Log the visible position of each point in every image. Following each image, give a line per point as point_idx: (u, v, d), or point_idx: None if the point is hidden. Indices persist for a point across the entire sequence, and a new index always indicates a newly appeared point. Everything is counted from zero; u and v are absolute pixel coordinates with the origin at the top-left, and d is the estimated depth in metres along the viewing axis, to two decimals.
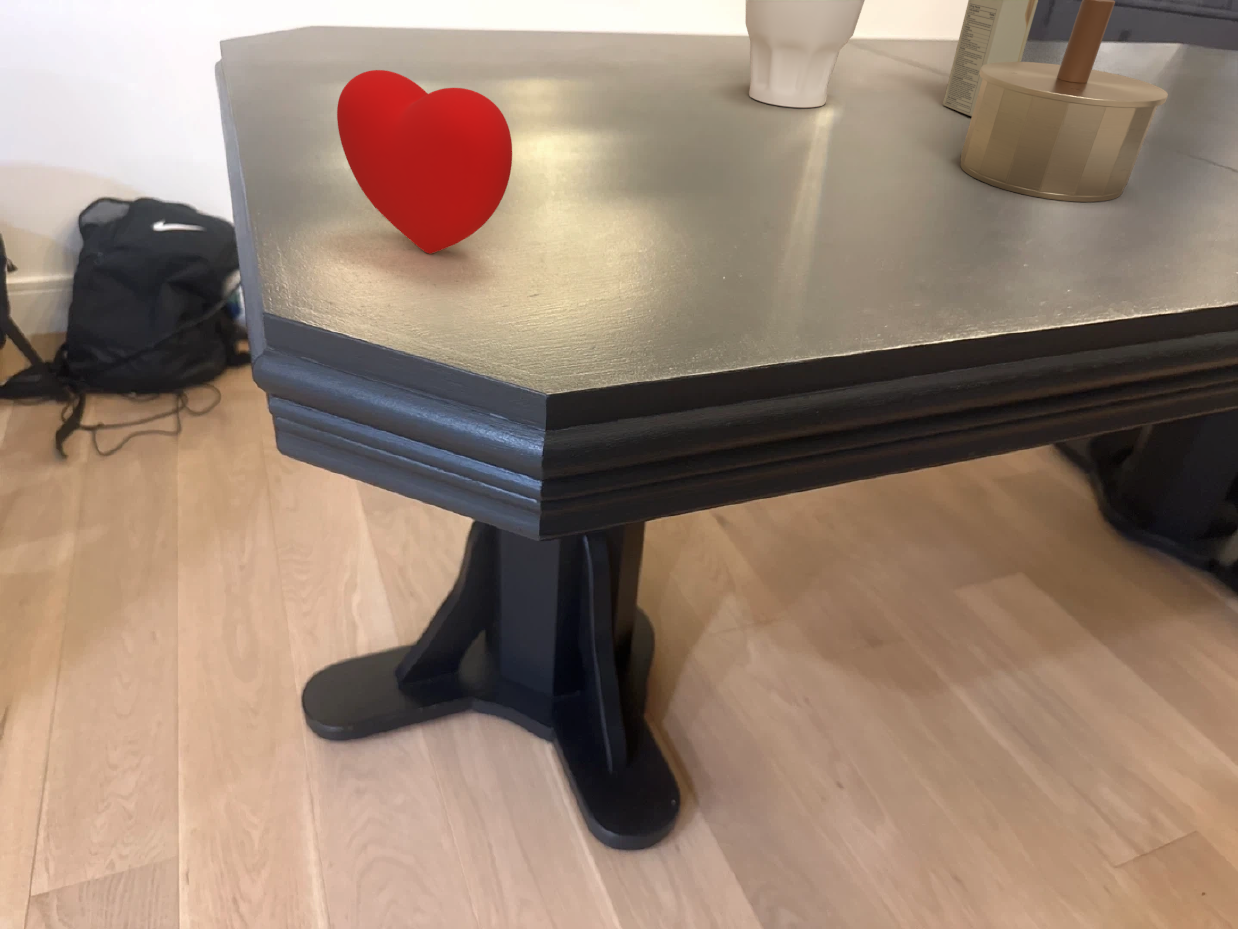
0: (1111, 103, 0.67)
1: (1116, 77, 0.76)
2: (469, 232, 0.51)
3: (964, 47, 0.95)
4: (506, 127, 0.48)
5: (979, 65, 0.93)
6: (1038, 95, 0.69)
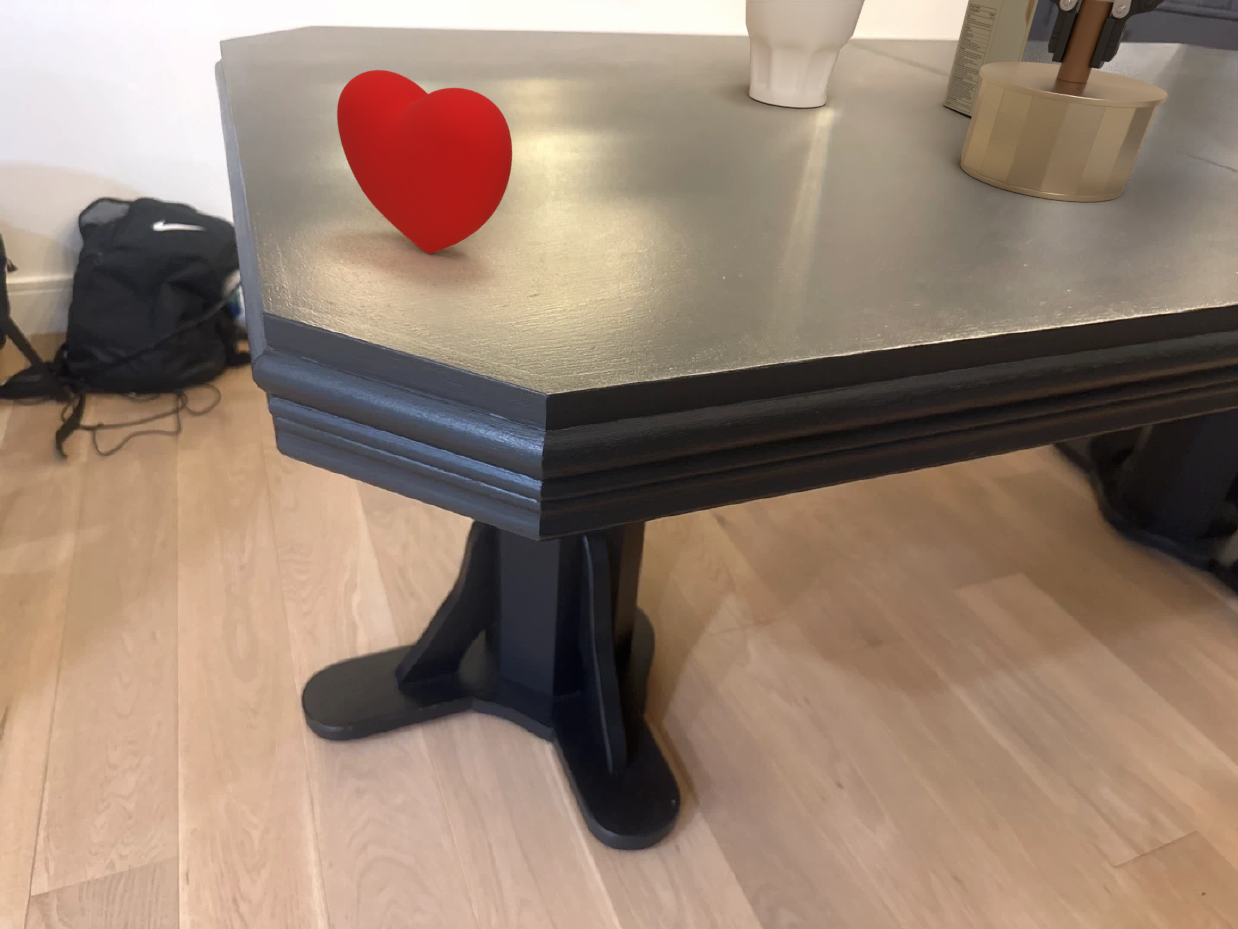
0: (1111, 103, 0.67)
1: (1116, 77, 0.76)
2: (469, 232, 0.51)
3: (964, 47, 0.95)
4: (506, 127, 0.48)
5: (979, 65, 0.93)
6: (1038, 95, 0.69)
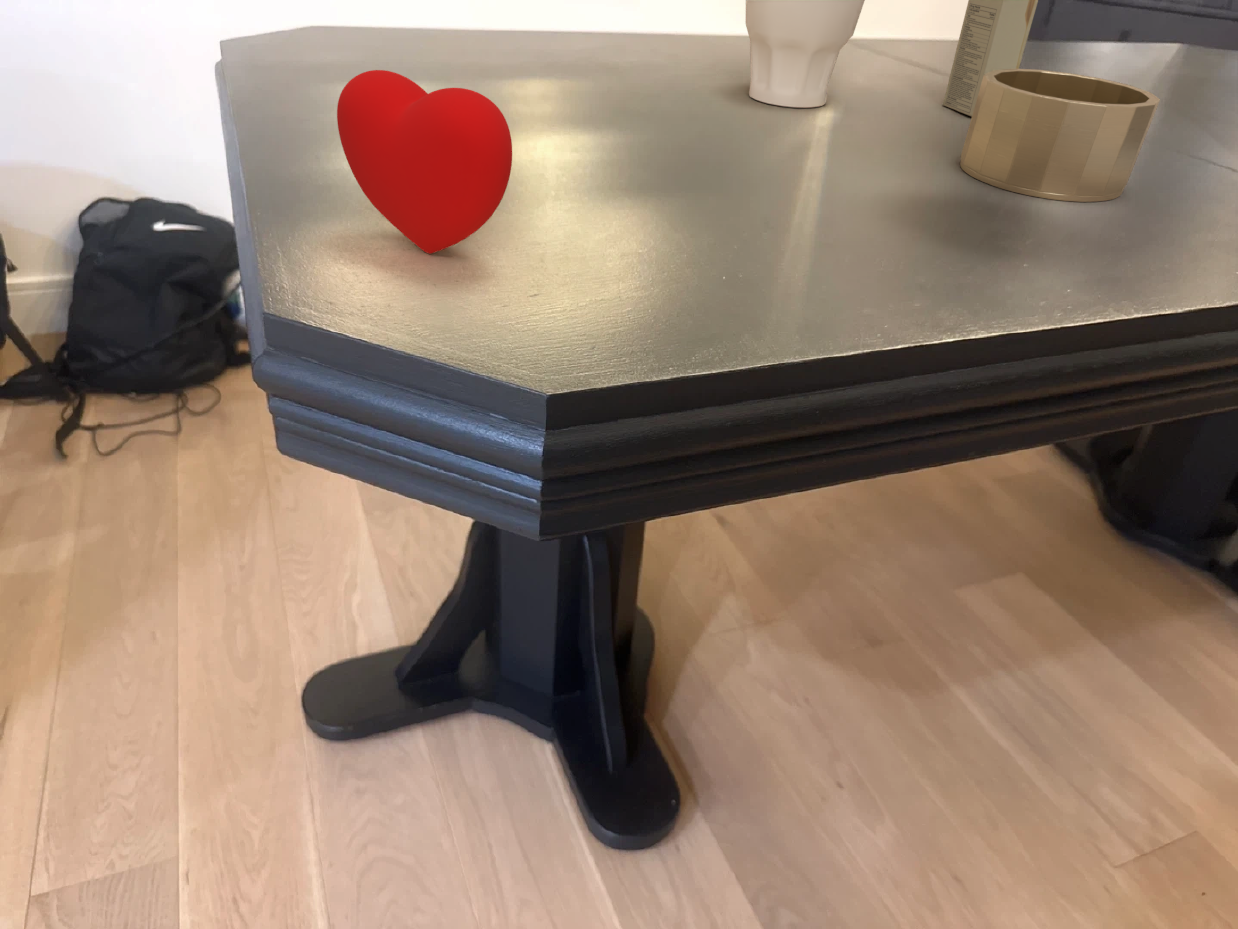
0: None
1: None
2: (469, 232, 0.51)
3: (964, 47, 0.95)
4: (506, 127, 0.48)
5: (979, 65, 0.93)
6: None
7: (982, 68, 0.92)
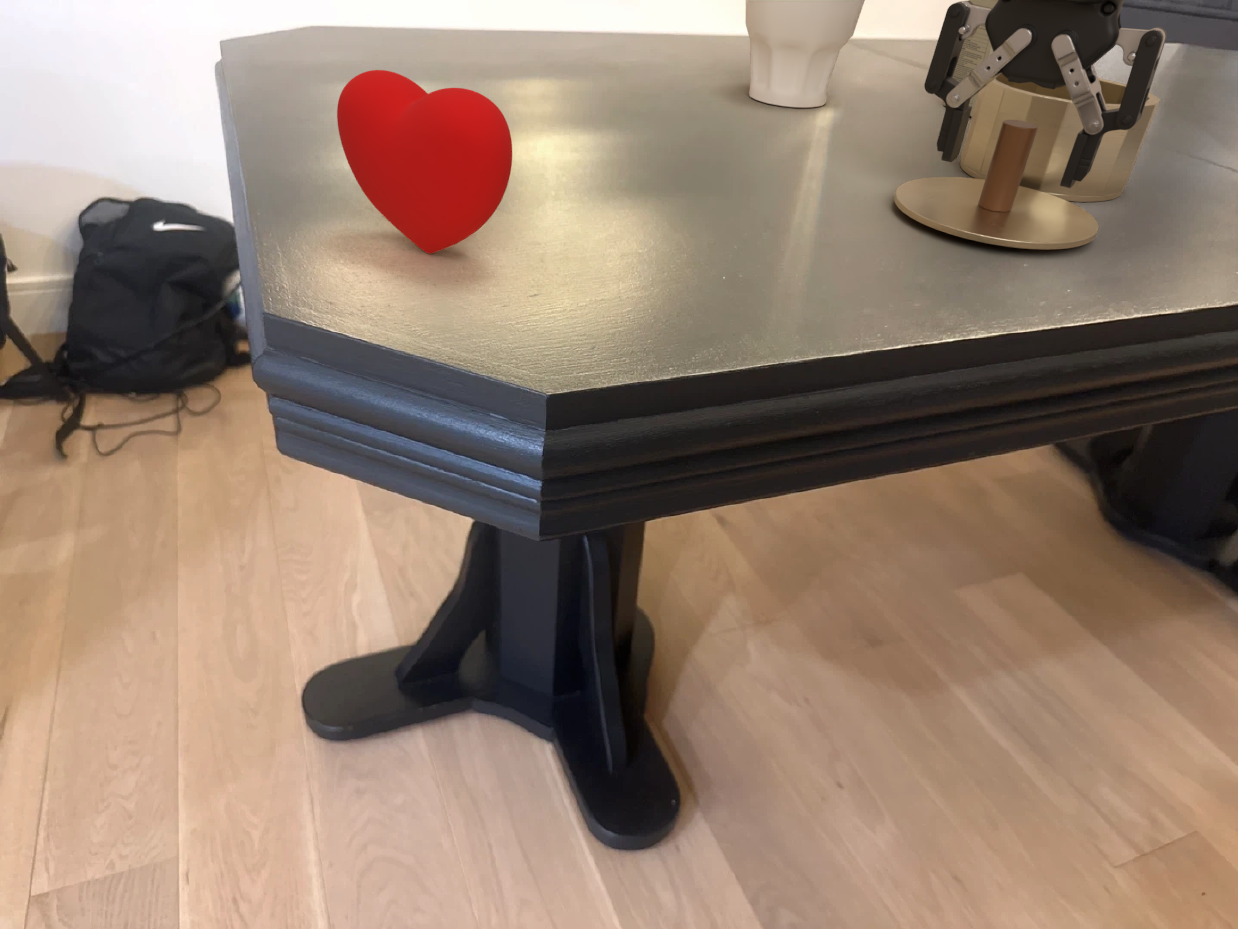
0: (1031, 245, 0.60)
1: (1046, 199, 0.68)
2: (469, 232, 0.51)
3: (964, 47, 0.95)
4: (506, 127, 0.48)
5: None
6: (951, 233, 0.62)
7: None
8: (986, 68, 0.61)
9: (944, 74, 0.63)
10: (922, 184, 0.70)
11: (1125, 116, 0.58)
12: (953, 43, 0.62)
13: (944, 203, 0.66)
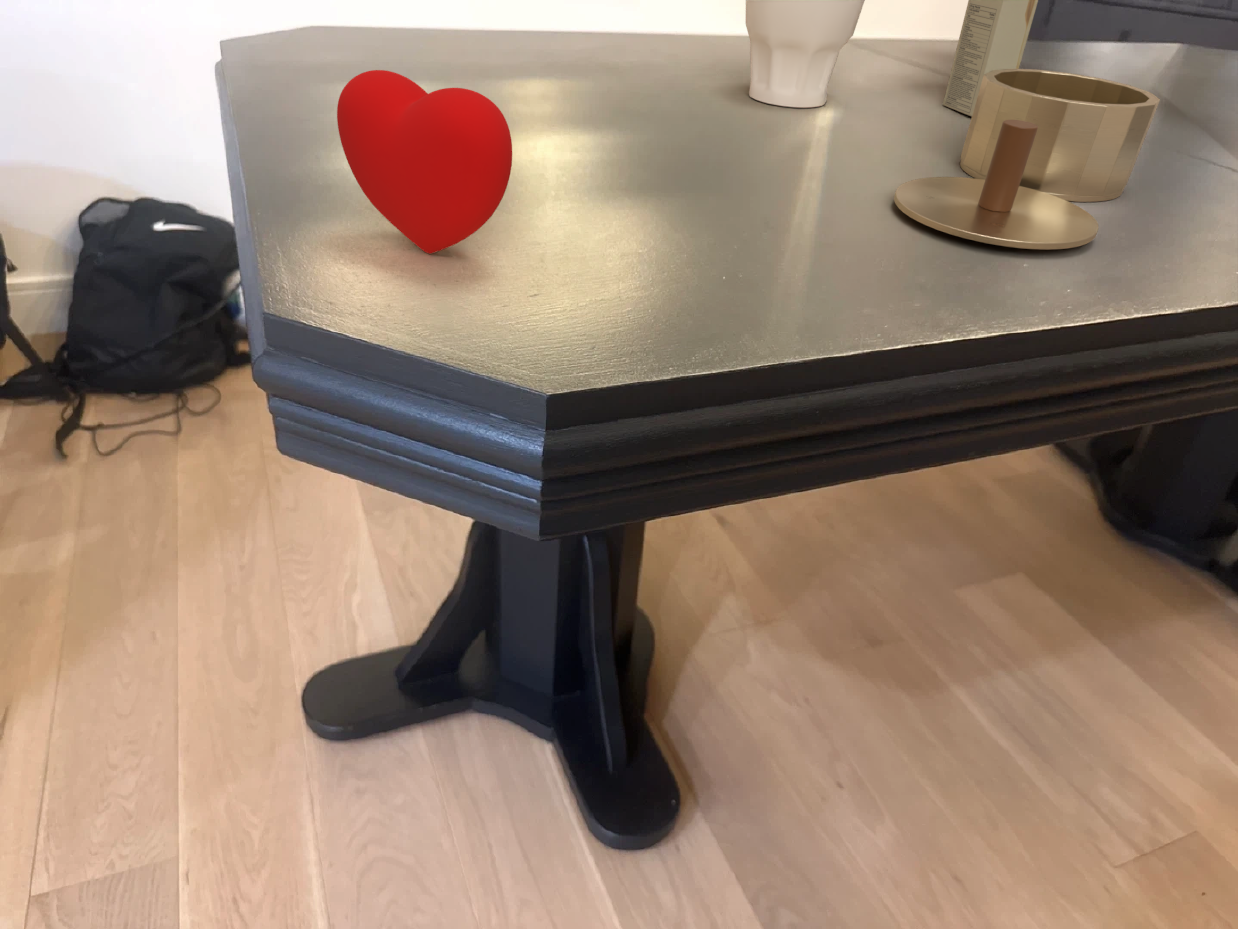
0: (1031, 245, 0.60)
1: (1046, 199, 0.68)
2: (469, 232, 0.51)
3: (964, 47, 0.95)
4: (506, 127, 0.48)
5: (979, 65, 0.93)
6: (951, 233, 0.62)
7: (982, 68, 0.92)
8: None
9: None
10: (922, 184, 0.70)
11: None
12: None
13: (944, 203, 0.66)
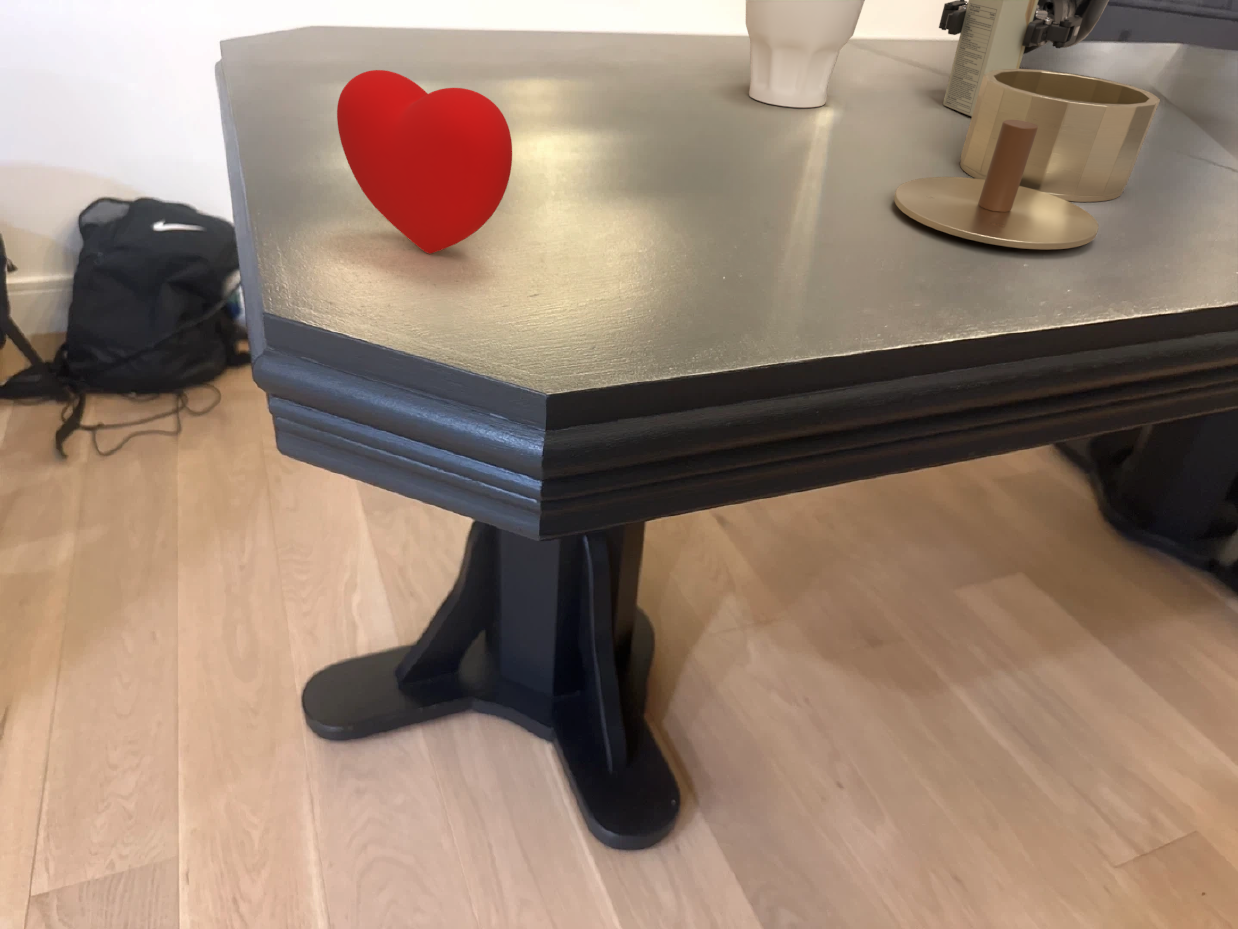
0: (1031, 245, 0.60)
1: (1046, 199, 0.68)
2: (469, 232, 0.51)
3: (964, 47, 0.95)
4: (506, 127, 0.48)
5: (979, 65, 0.93)
6: (951, 233, 0.62)
7: (982, 68, 0.92)
8: None
9: None
10: (922, 184, 0.70)
11: None
12: None
13: (944, 203, 0.66)
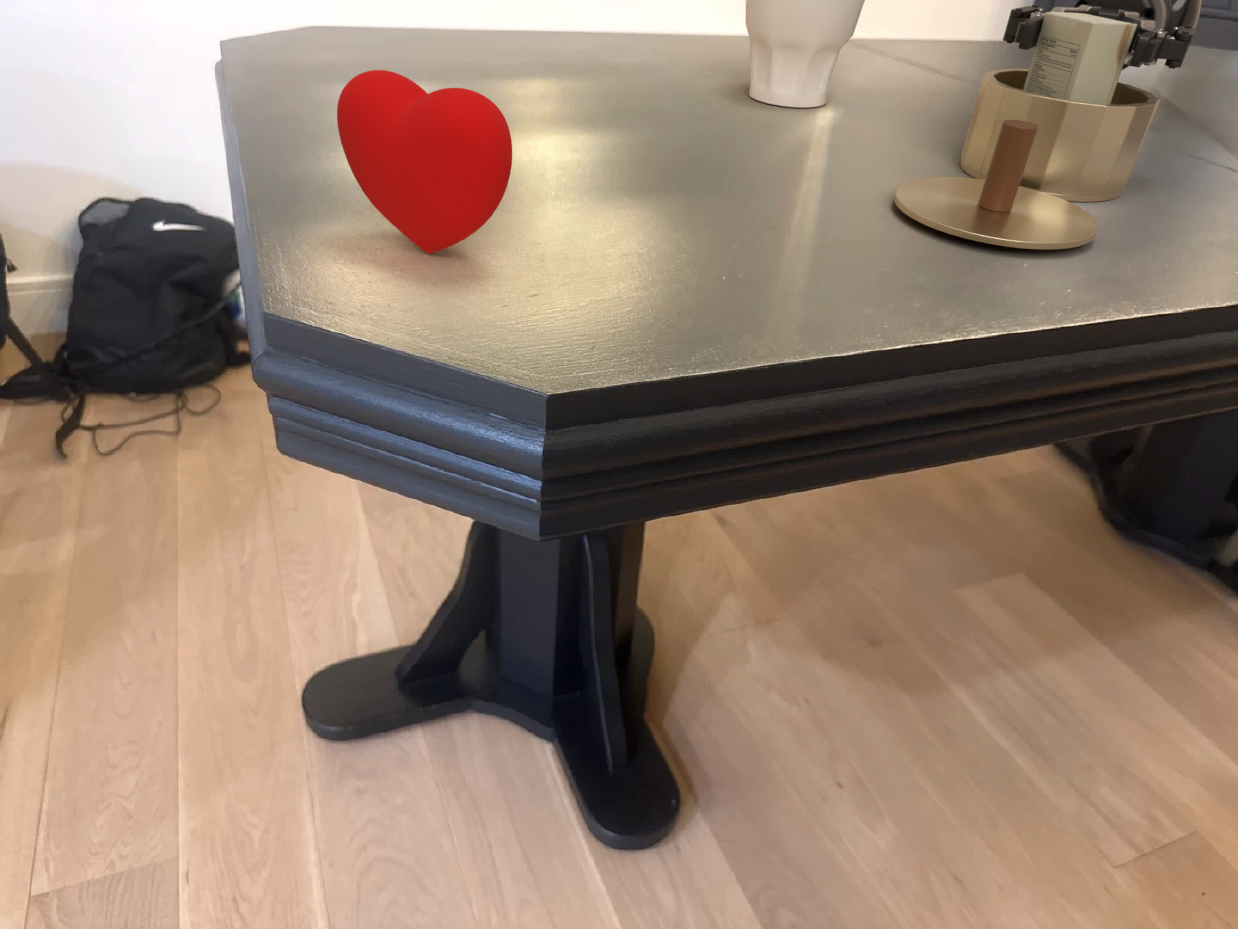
0: (1031, 245, 0.60)
1: (1046, 199, 0.68)
2: (469, 232, 0.51)
3: (1033, 91, 0.75)
4: (506, 127, 0.48)
5: None
6: (951, 233, 0.62)
7: None
8: None
9: None
10: (922, 184, 0.70)
11: None
12: None
13: (944, 203, 0.66)
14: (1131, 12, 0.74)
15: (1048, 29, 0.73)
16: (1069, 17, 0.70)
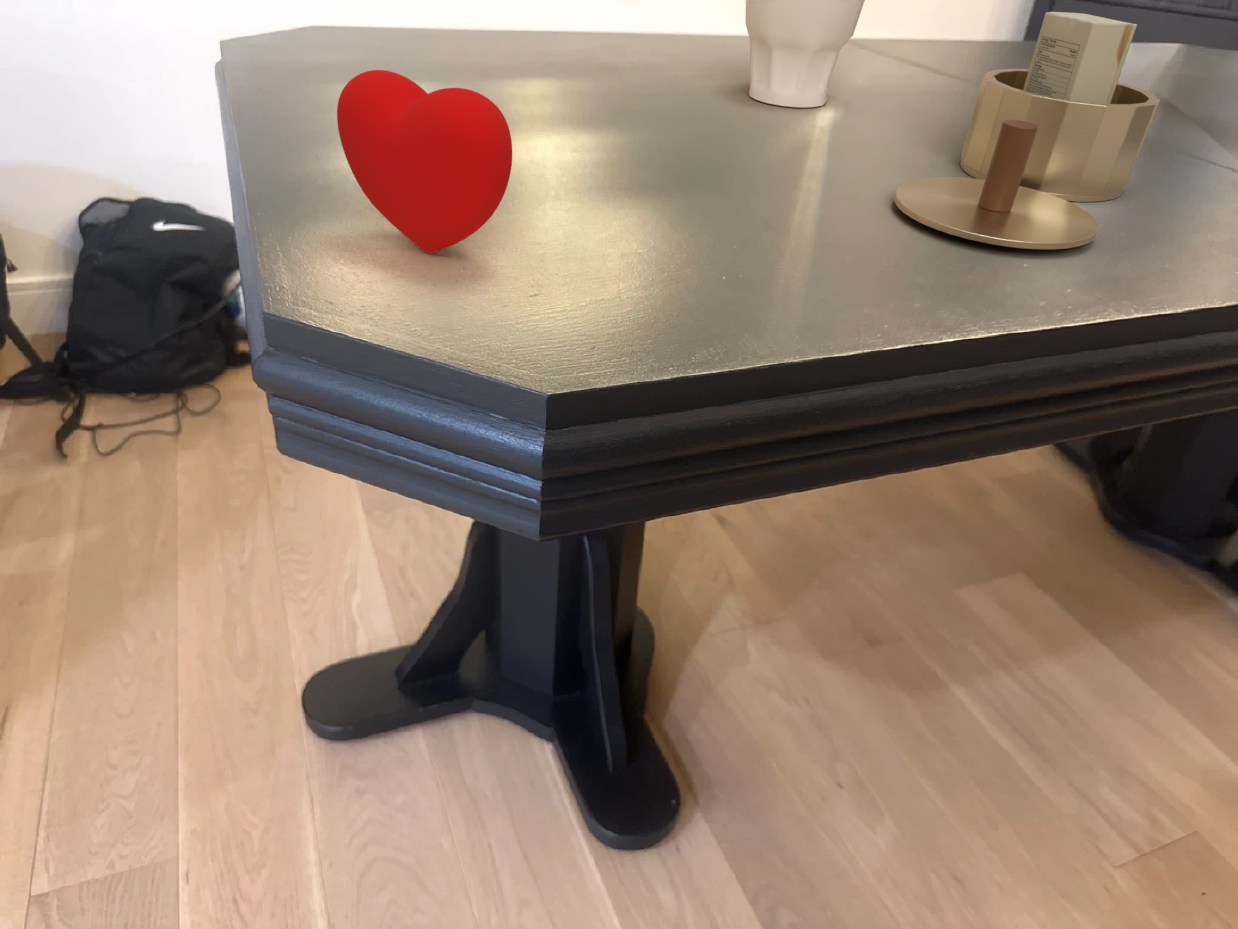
0: (1031, 245, 0.60)
1: (1046, 199, 0.68)
2: (469, 232, 0.51)
3: (1033, 91, 0.75)
4: (506, 127, 0.48)
5: None
6: (951, 233, 0.62)
7: None
8: None
9: None
10: (922, 184, 0.70)
11: None
12: None
13: (944, 203, 0.66)
14: None
15: (1048, 29, 0.73)
16: (1069, 17, 0.70)
